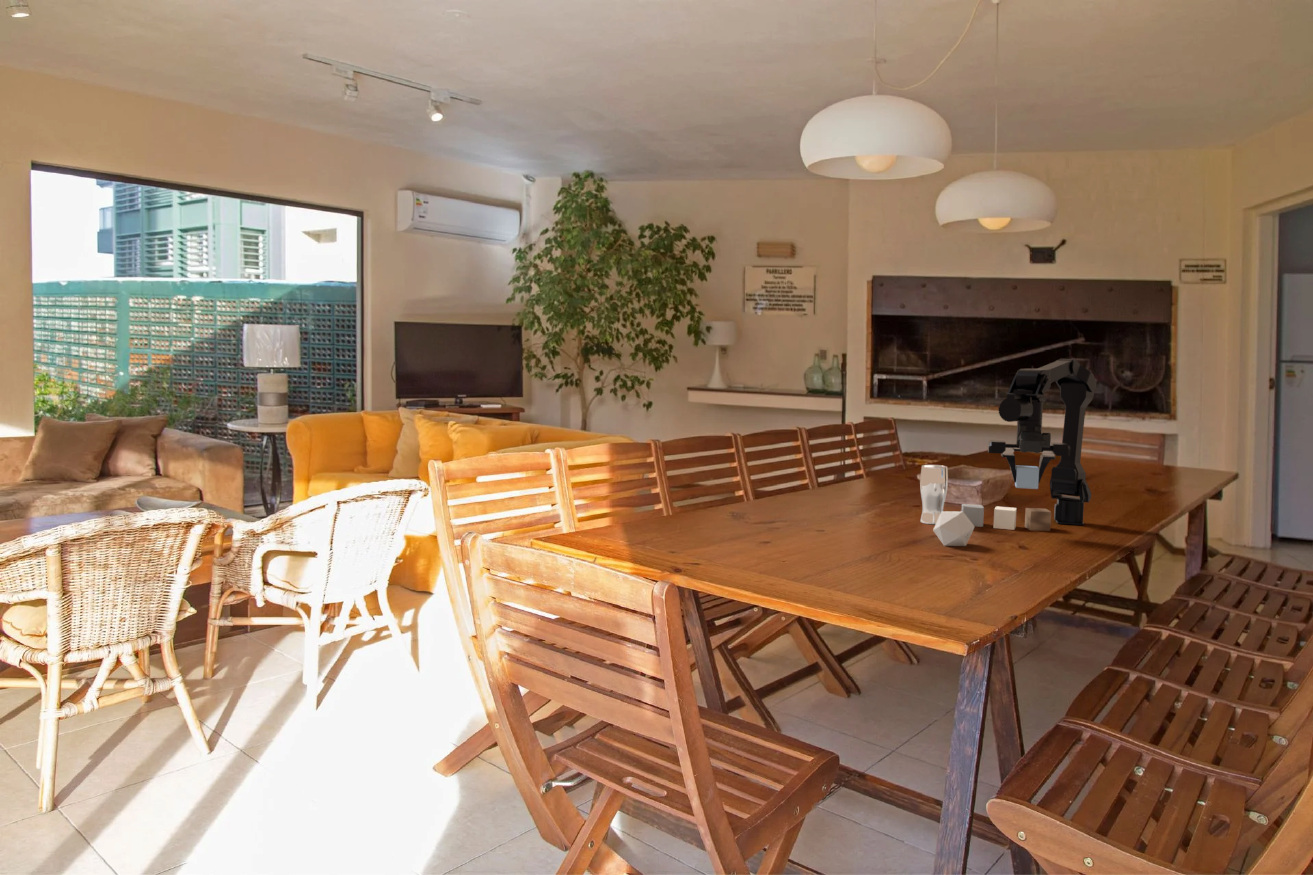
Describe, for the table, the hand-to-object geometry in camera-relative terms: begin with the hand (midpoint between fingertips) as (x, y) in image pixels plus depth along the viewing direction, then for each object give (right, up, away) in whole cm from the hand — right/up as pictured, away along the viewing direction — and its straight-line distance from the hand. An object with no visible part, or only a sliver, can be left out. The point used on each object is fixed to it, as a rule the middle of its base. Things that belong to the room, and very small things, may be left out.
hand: (1026, 482), depth 235 cm
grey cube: (-9, -12, +13) cm, 20 cm away
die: (-22, -14, -13) cm, 29 cm away
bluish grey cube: (0, -1, 0) cm, 1 cm away
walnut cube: (+6, -12, +9) cm, 16 cm away
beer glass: (-19, -11, +15) cm, 27 cm away
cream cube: (-2, -12, +10) cm, 16 cm away
